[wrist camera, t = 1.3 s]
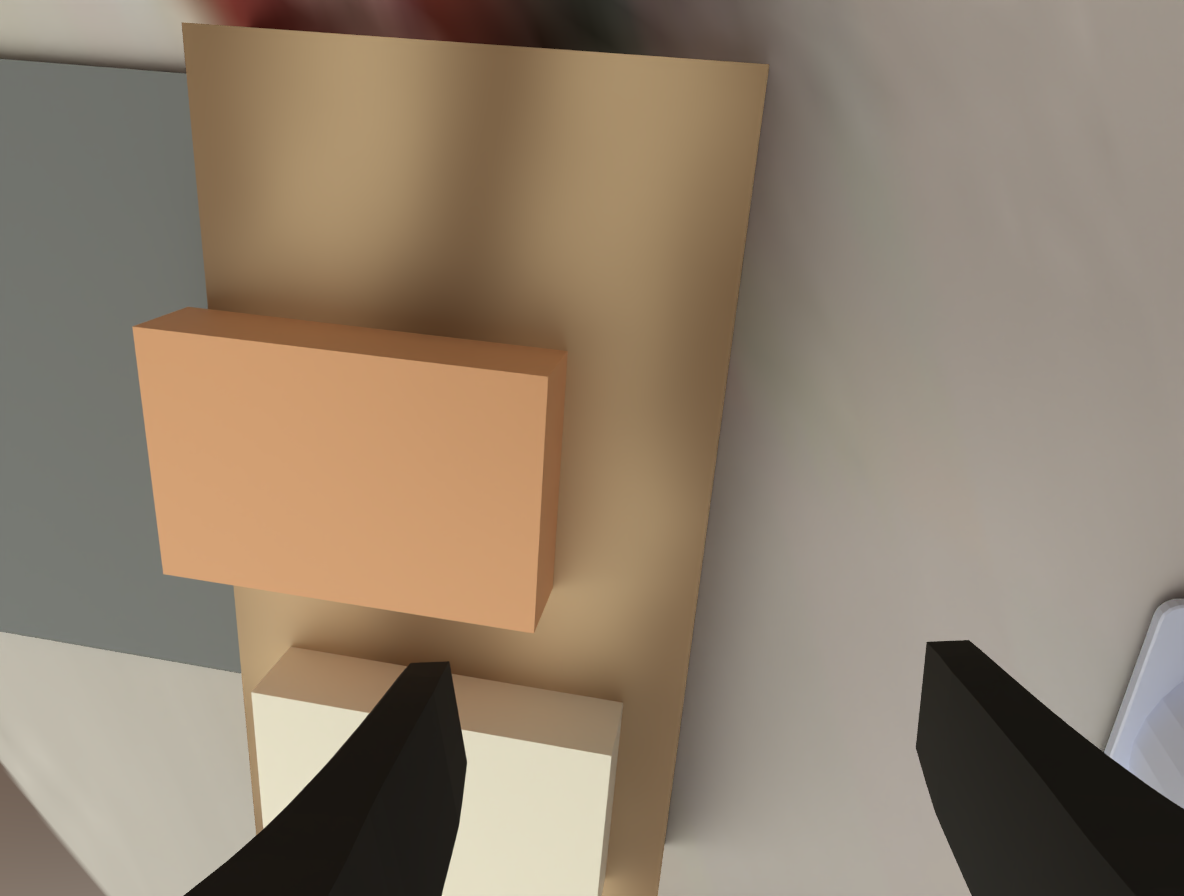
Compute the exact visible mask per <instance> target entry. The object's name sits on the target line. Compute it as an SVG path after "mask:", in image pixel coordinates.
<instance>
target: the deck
mask: <svg viewBox="0 0 1184 896" xmlns="http://www.w3.org/2000/svg"><path fill="white" fill-rule="evenodd" d="M182 32H183V43H184V53H185V64H186V75H187V86H188V97H189V108H190V119H191V130H192V140H193V151H194V162H195V173H196V184H197V195H198V206H199V217H200V227H201V238H202V249H203V260H204V271H205V282H206V293H207V304H208V309H212V310H221V311H229V312H238V313H246V314H255V315H263V316H272V317H281V318H289V319H298V320H306V321H315V322H323V323H332V324H341V325H349V326H358V327H366V328H375V329H383V330H392V331H401V332H409V333H418V334H426V335H435V336H443V337H452V338H461V339H469V340H478V341H486V342H495V343H503V344H512V345H521V346H529V347H538V348H546V349H555V350H563V351H568V355H567V371H566V387H565V403H564V419H563V434H562V450H561V466H560V482H559V497H558V513H557V529H556V545H555V560H554V576H553V589H552V591H551V594H550V596H549V599H548V601H547V603H546V606H545V608H544V611H543V613H542V615H541V618H540V620H539V623H538V625H537V627H536V630H535V632H534V633H527V632H521V631H515V630H509V629H502V628H496V627H490V626H484V625H477V624H471V623H465V622H459V621H452V620H446V619H440V618H434V617H428V616H421V615H415V614H409V613H403V612H396V611H390V610H384V609H378V608H371V607H365V606H359V605H353V604H346V603H340V602H334V601H328V600H321V599H315V598H309V597H303V596H296V595H290V594H284V593H278V592H272V591H265V590H259V589H253V588H247V587H240V586H234V585H233V586H234V597H235V608H236V619H237V630H238V641H239V652H240V662H241V673H242V684H243V695H244V706H245V717H246V728H247V739H248V749H249V760H250V771H251V782H252V793H253V804H254V815H255V826H256V835H257V834H259V833H260V832H261V831H262V830H263V820H262V809H261V797H260V786H259V774H258V763H257V752H256V740H255V729H254V717H253V706H252V695H251V692H252V691H253V690H254V689H255V687H256V686H257V685H258V684H259V683H260V682H261V680H262V679H263V678H264V677H265V676H266V675H267V673H268V672H269V671H270V670H271V669H272V668H273V666H274V665H275V664H276V663H277V662H278V661H279V659H280V658H281V657H282V656H283V655H284V654H285V652H286V651H287V650H288V649H289V648H290V647H296V648H302V649H308V650H314V651H320V652H326V653H331V654H337V655H343V656H349V657H355V658H361V659H367V660H373V661H379V662H385V663H391V664H397V665H403V666H408V665H409V664H410V663H420V662H445V661H449V662H450V668H451V673H452V674H456V675H462V676H468V677H474V678H480V679H486V680H492V681H498V682H504V683H510V684H515V685H521V686H527V687H533V688H539V689H545V690H551V691H557V692H563V693H569V694H575V695H581V696H587V697H593V698H599V699H605V700H610V701H616V702H622V703H623V710H622V719H621V729H620V739H619V748H618V758H617V768H616V777H615V787H614V797H613V806H612V816H611V826H610V835H609V845H608V855H607V864H606V874H605V881H604V886H603V892H602V896H658V888H659V881H660V873H661V866H662V858H663V851H664V844H665V836H666V829H667V821H668V814H669V806H670V799H671V792H672V784H673V777H674V769H675V762H676V754H677V747H678V740H679V732H680V725H681V717H682V710H683V702H684V695H685V688H686V680H687V673H688V665H689V658H690V650H691V643H692V635H693V628H694V621H695V613H696V606H697V598H698V591H699V583H700V576H701V569H702V561H703V554H704V546H705V539H706V531H707V524H708V517H709V509H710V502H711V494H712V487H713V479H714V472H715V465H716V457H717V450H718V442H719V435H720V427H721V420H722V413H723V405H724V398H725V390H726V383H727V375H728V368H729V361H730V353H731V346H732V338H733V331H734V323H735V316H736V309H737V301H738V294H739V286H740V279H741V271H742V264H743V257H744V249H745V242H746V234H747V227H748V219H749V212H750V204H751V197H752V190H753V182H754V175H755V167H756V160H757V152H758V145H759V138H760V130H761V123H762V115H763V108H764V100H765V93H766V86H767V78H768V71H769V64H757V63H743V62H729V61H715V60H701V59H687V58H673V57H659V56H644V55H630V54H616V53H602V52H588V51H574V50H560V49H546V48H532V47H518V46H504V45H490V44H476V43H462V42H448V41H434V40H420V39H405V38H391V37H377V36H363V35H349V34H335V33H321V32H307V31H293V30H279V29H265V28H251V27H237V26H223V25H209V24H195V23H182Z"/></svg>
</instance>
